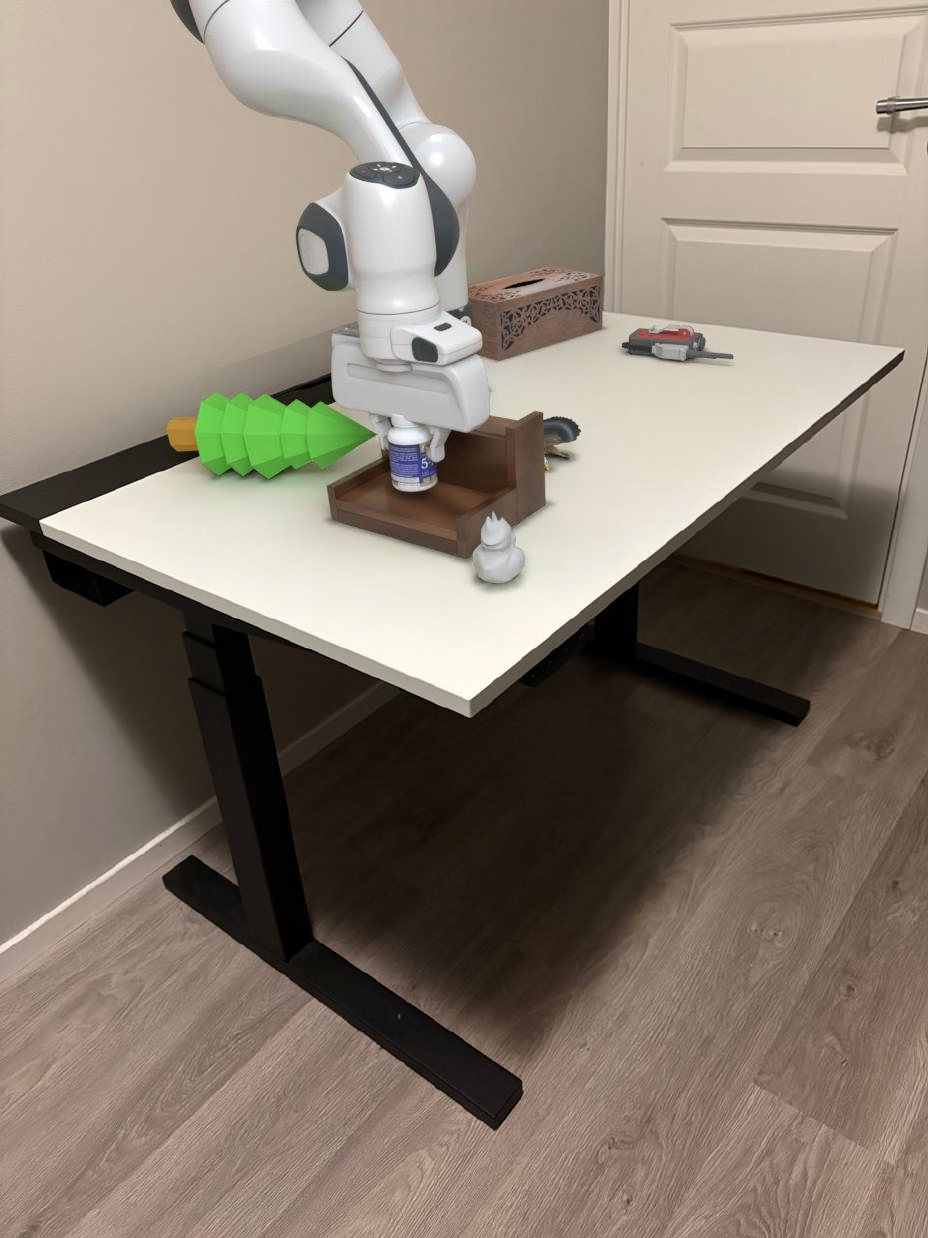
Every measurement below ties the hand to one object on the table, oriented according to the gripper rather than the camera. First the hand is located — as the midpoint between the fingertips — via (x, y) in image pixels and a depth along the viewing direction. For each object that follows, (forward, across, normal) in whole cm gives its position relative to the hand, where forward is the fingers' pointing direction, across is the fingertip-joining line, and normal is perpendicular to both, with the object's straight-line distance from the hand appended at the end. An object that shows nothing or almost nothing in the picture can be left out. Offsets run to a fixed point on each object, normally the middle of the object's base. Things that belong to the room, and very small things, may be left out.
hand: (413, 454), depth 108 cm
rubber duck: (+9, +16, -6) cm, 19 cm away
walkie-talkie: (+9, -2, +73) cm, 74 cm away
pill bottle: (+4, 0, 0) cm, 4 cm away
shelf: (+8, 0, +3) cm, 9 cm away
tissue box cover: (+9, -33, +72) cm, 80 cm away
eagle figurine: (+9, +3, +21) cm, 23 cm away
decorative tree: (+9, -27, +2) cm, 28 cm away
